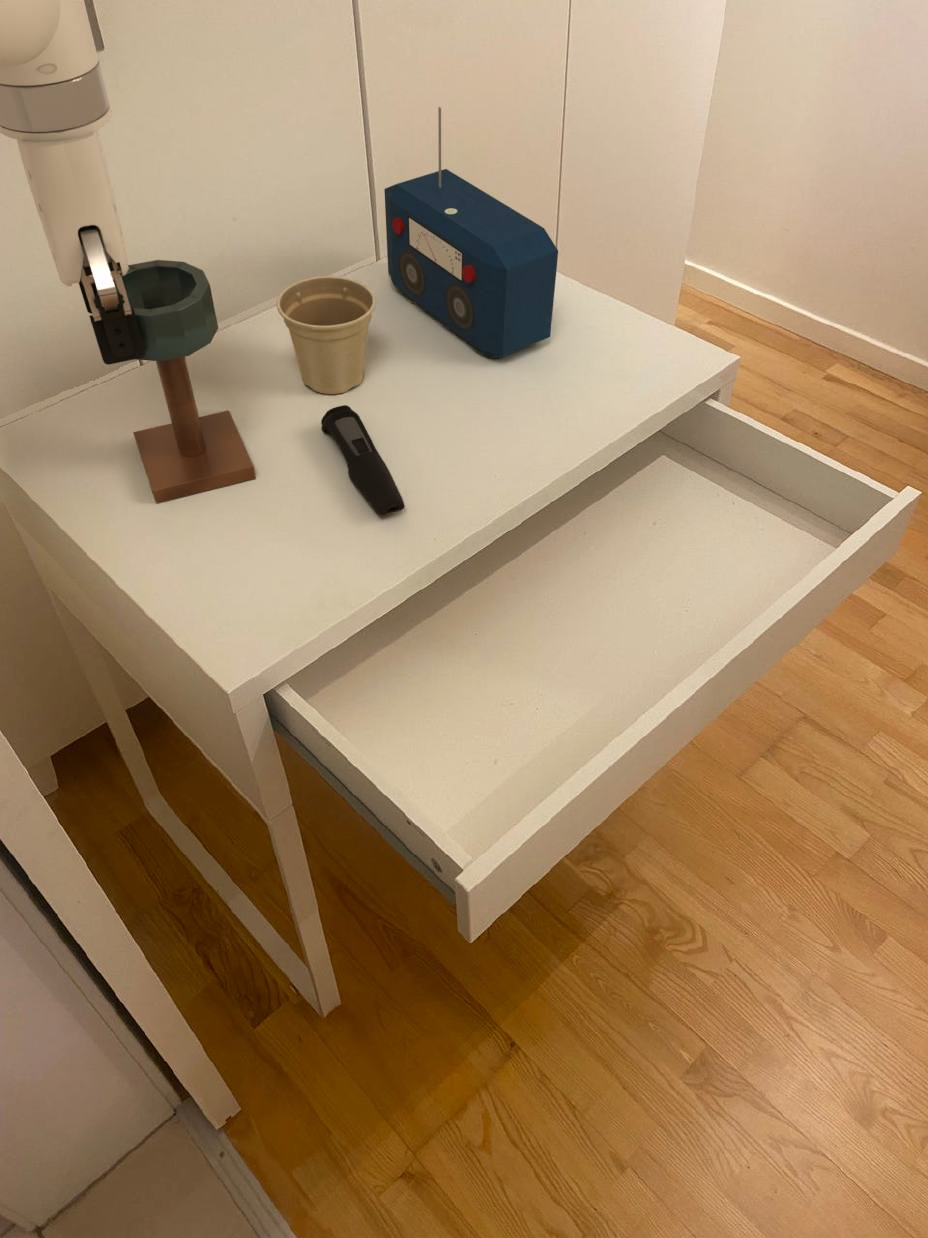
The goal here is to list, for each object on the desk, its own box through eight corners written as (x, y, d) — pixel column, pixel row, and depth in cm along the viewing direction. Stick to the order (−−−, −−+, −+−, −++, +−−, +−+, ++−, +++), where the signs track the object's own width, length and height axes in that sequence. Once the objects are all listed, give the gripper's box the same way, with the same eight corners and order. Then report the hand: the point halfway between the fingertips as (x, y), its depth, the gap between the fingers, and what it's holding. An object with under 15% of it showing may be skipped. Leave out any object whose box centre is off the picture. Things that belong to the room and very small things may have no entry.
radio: (378, 286, 110) (368, 99, 95) (440, 264, 113) (440, 81, 98) (491, 372, 99) (499, 176, 84) (555, 345, 102) (574, 152, 87)
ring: (121, 370, 75) (108, 324, 72) (103, 316, 80) (90, 271, 77) (227, 347, 77) (219, 302, 74) (203, 296, 82) (194, 252, 79)
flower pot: (362, 344, 102) (356, 267, 95) (393, 392, 96) (390, 314, 90) (276, 362, 99) (264, 285, 93) (303, 413, 93) (292, 335, 87)
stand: (156, 504, 84) (120, 383, 75) (136, 444, 90) (101, 325, 80) (256, 479, 87) (233, 359, 77) (231, 422, 92) (207, 304, 83)
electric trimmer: (373, 533, 83) (372, 506, 80) (318, 428, 92) (315, 401, 89) (414, 522, 84) (414, 494, 81) (355, 420, 93) (353, 392, 90)
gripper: (-24, 58, 68) (52, 290, 81) (1, 156, 57) (85, 404, 70) (85, 45, 70) (142, 273, 83) (129, 138, 59) (186, 382, 73)
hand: (115, 331), depth 77 cm, fingers closed on ring, 7 cm apart
